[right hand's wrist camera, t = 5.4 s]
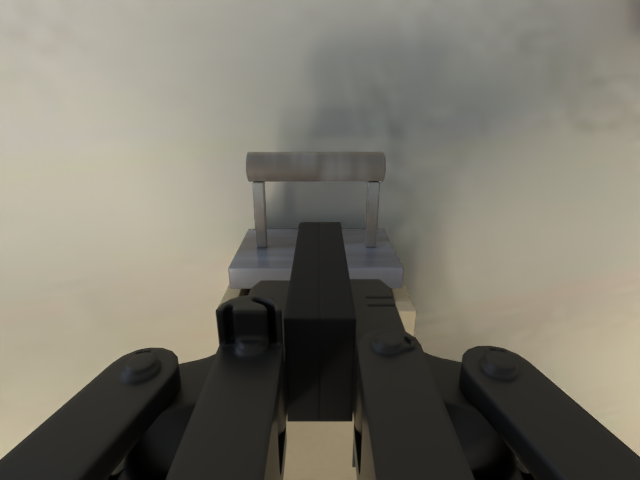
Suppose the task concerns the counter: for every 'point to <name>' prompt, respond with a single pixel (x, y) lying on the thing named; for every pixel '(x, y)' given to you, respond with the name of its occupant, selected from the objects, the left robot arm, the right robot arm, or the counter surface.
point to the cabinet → (327, 423)
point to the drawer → (279, 244)
